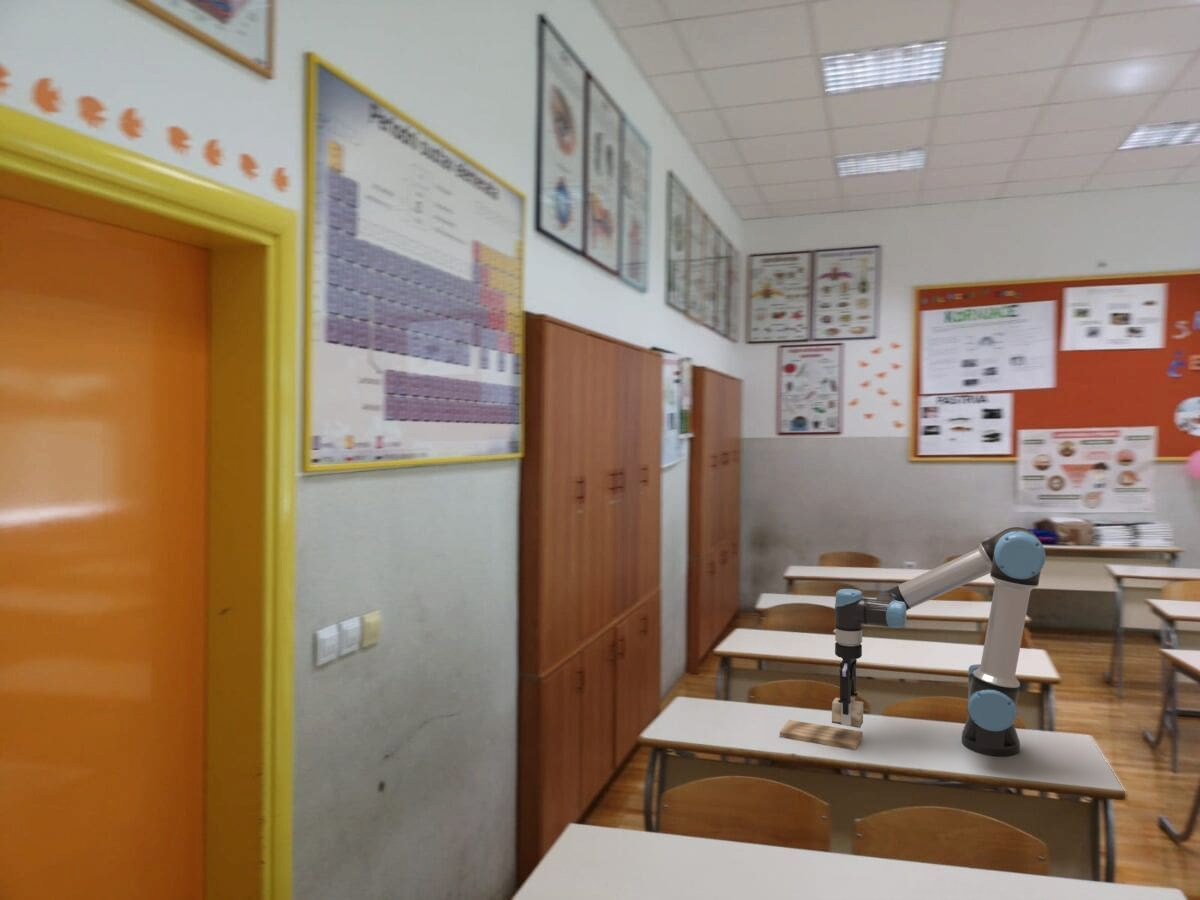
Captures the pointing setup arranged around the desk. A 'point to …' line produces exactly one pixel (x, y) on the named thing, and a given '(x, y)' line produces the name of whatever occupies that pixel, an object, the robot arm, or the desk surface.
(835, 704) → the block
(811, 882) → the desk surface
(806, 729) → the board
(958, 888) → the desk surface
